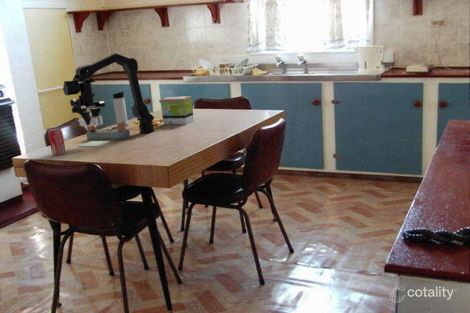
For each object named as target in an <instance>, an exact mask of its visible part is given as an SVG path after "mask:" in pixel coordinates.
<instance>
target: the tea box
mask: <svg viewBox="0 0 470 313" xmlns="http://www.w3.org/2000/svg"><path fill="white" fill-rule="evenodd" d="M160 107H161V115H162V122H163V125H188V124H190V123H193V122H194V120H195V119H194V109H193V102H192V96H191V95H187V96H183V95H181V96H167V97H164V98H161V99H160Z"/></svg>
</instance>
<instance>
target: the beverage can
mask: <svg viewBox="0 0 470 313" xmlns="http://www.w3.org/2000/svg"><path fill="white" fill-rule="evenodd" d="M47 133H48V135H47V136H48V140H49V145H50V150H51V155H54V156H61V155H64V154H65V153H66V152H67V151H66V146H65V140H64V134H63V131H62V129H61V128H60V127H59V128H58V127H57V128H51V129H49V130H48V132H47Z"/></svg>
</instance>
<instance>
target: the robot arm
mask: <svg viewBox="0 0 470 313" xmlns="http://www.w3.org/2000/svg"><path fill="white" fill-rule="evenodd" d="M114 63H115V64H116V65H119V66H122V69H123V72H124V73H125V75H126V76H127V78H128V84H129V87H130V91H131V95H132V100H133V106H131V107H130V108H131V110H132V111H131V112H132V115H133V116H134V117H135V118H136V119H137V121H138V122H139V124H138V126H139V132H138V134H150V133H153V132H155V131H156V129H154V124H153V123H154V122H153V121H154V119H155V116H154V115H152V114H151V113H150V111H149V108H148V106H147V104H146V103H145V102H144V99H143V94H142V90H141V87H140V82H139V79H138V71H139V65H138V61H137V59H135V58H133V57H127V56H125V55H121V54H120V53H111V54H110V55H108V56H106V57H103V58H101V59H100V60H99V59H98V60H97V61H95V62H93V63H91V64H85V65H82V66H79V67H77V68H76V69H75V74H74V76H73V78H72V80H64V81H63V84H62V85H63V88H62V90H63V93H64V95H65V96H67V97H68V96H72V95H78V94H79V95H78V99H75V98H73V99H70V101H69V103H70V107H71V112H72V114H75V113H76V114H79V115H80V116H82V117H83V119H84V121H85V122H86V124H87V125H89V121H90V115H92V116H100V115H99V114H100V113H101V110H102V108H104V107H106V102H105V101H104V100H94V97H95V96H96V94H95V93H93V92H94V91H93V88H92V84H93V83H95V82H96V80H95V79H93V78H92V76H94V75H95V74H96V72H98V71H99V70H102V69H104V68H106V67H108V66H110V65H112V64H114Z"/></svg>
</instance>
